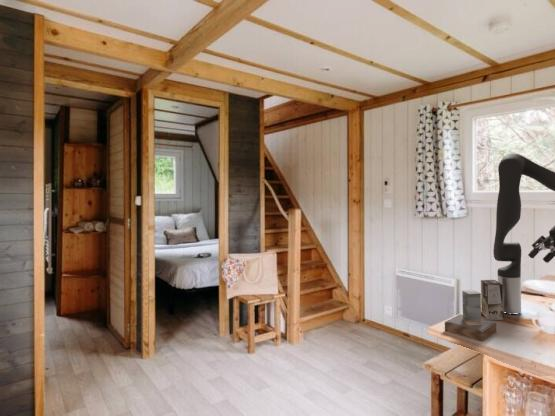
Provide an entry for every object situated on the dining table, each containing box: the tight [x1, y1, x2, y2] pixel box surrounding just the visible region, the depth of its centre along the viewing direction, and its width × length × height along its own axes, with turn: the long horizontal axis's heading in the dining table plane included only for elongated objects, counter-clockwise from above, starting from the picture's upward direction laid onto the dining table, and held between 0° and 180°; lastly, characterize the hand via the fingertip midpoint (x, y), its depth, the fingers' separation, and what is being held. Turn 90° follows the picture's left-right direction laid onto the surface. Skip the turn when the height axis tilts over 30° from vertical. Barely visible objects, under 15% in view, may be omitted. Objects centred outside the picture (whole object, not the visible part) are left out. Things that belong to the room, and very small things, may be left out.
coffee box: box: [480, 279, 504, 321], centre depth 169 cm, size 9×6×16 cm
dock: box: [444, 313, 497, 342], centre depth 155 cm, size 15×13×4 cm
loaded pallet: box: [461, 289, 482, 326], centre depth 153 cm, size 6×6×13 cm
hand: (537, 259), depth 146 cm, fingers open, 8 cm apart
